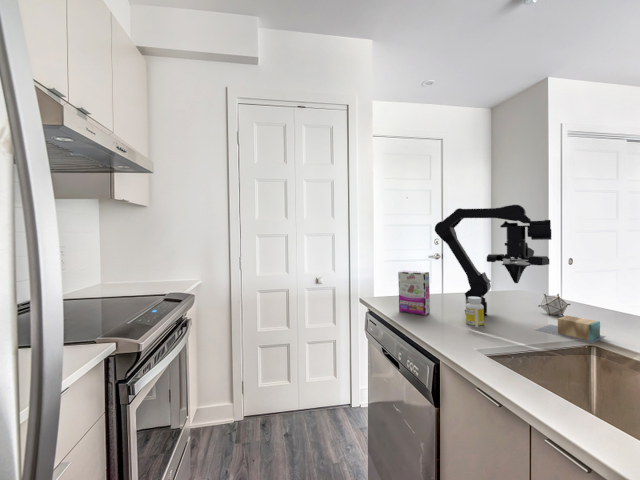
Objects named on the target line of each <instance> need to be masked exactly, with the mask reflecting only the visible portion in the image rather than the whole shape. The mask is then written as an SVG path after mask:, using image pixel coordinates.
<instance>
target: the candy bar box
mask: <svg viewBox="0 0 640 480" xmlns="http://www.w3.org/2000/svg"><path fill="white" fill-rule="evenodd" d="M397 278H398V311H399V312H400V313H405V314H413V315H420V316H427V315H429V314H431V306H430V305H431V300H430V296H431V295H430V272H428V271H417V270H416V271H415V270H414V271H413V270H412V271H411V270H401V271H398V277H397Z"/></svg>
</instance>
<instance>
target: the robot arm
mask: <svg viewBox="0 0 640 480" xmlns="http://www.w3.org/2000/svg"><path fill="white" fill-rule="evenodd" d="M526 211H527V210H526V209H525V208H524V207H523V206H522V205H520V204H511V205H504V206H500V207H495V208H493V207H492V208H489V207H487V208H460V207H459V208H457V209H455V210H454V211H453V212H452V213H450V215H448V216H447V217H445V219H443V220H442V221H439V222H437V223H436V224H435V227H434V232H435V233H436V234H437V236H438V237H439V238H440V239H441V240H442V241H443V242H444V243H446V244H447V246H448V248H449V250H450V251H451V252H452V255H454V257H455V259H456V261H457V262H458V264H459V265H460V267H461V268H462V270H463V272H464V273H465V275H466V277H467V282H468V285H469V287H470V289H468V290H467V291H466V292H465V293H464V296H465V305H466V304H467V303H469V302H468V297H480V298H481V304H482V305H483V306H484V316H488V314H487V313H488V302H487V301H486V298H485V295H486V294H488V292H489V291H490V289H491V288H492V285H491V282H492V281H491V279H489V277H488V276H487V274H486V272H485V271H484V272H480V271H479V270H478V269H477V268H476V266H475V265H474V263H473V261H472V259H471V258H470V257H469V255H468V254H467V251H465V248H464V247H463V246H462V244H461V242H460V241H459V239H458V235H457V231H456V229H455V228H456V227H457V226H458V225H459V224H460V223H461V221H462V220H464V219H500V220H505V221H504V222H503V223H502V224H501V225H500V228H501V229H503V228H506V242H504V247H505V246H506V253H505V254H504V253H491V254H490V253H488V255H487V256H486V262H488V263H496V262H502V263H501V265H502V266H504V267H505V269H506V270H507V272H508V273H509V275H510V277H511V279H512V281H513V282H514V284H519V282H520V280H521V277H522V274H523V273H524V271H525V269H526V268H528V267H530V266H547V265H548V266H549V265H550V258H549V257H548V256H547V255H535V254H534V253H535V250H533V249H532V248H531V247H529V244H528V242H527V241H526V235H527V238H530V239H531V240H532V241H534V240H535V241H536V240H537V241H539V240H540V241H543V240H544V241H547V240H549V241H550V240H551V241H552V228H551V224H552V223H551V219H544V220H531V218H529V216H527V212H526ZM506 220H507V221H506ZM508 221H511V222H508ZM512 221H513V222H512ZM518 222H520V223H522V224H524V225H519V223H518ZM525 224H527V225H525ZM526 228H527V232H526ZM526 233H527V234H526ZM464 312H465V313H466V309H464Z"/></svg>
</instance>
